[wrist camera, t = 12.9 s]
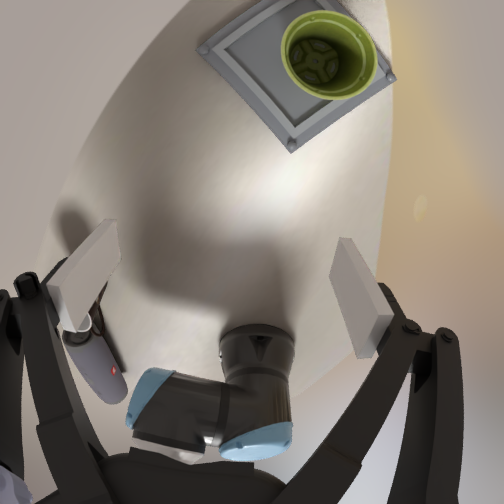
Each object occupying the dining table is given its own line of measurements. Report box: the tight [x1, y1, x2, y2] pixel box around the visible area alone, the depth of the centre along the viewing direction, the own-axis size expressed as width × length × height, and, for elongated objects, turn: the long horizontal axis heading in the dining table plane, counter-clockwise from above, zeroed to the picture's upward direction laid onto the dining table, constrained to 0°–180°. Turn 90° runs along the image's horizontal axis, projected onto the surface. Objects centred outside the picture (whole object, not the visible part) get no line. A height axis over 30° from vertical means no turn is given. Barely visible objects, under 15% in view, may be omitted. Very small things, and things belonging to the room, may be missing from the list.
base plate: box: [196, 0, 397, 154], centre depth 28 cm, size 18×18×2 cm
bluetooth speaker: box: [62, 322, 128, 404], centre depth 55 cm, size 23×9×10 cm, turn 179°
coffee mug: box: [77, 281, 108, 337], centre depth 44 cm, size 12×9×10 cm
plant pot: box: [281, 10, 378, 100], centre depth 25 cm, size 9×9×9 cm
